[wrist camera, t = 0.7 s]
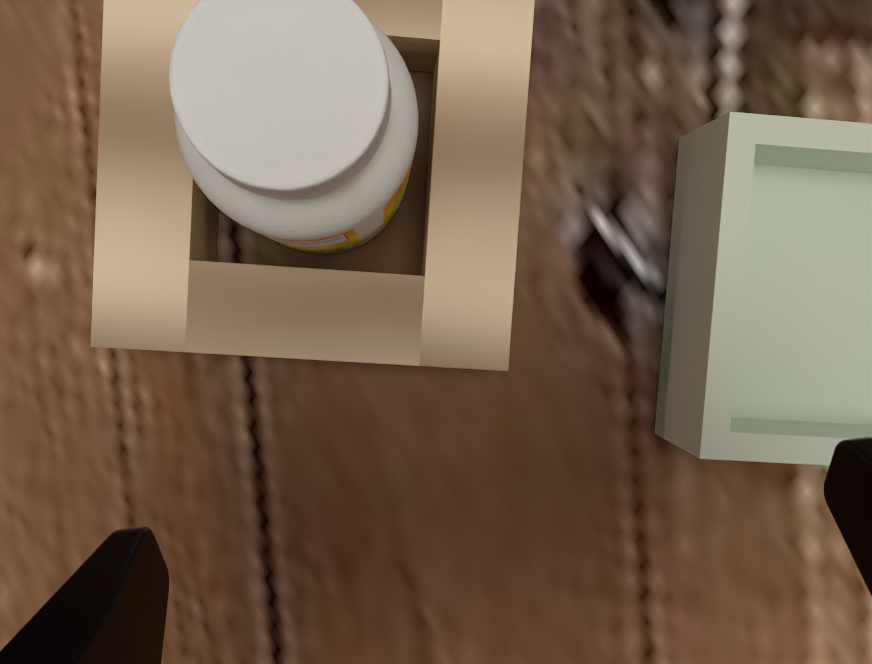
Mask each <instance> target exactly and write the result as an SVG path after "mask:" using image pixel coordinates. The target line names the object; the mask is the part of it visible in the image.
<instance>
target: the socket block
mask: <svg viewBox="0 0 872 664" xmlns="http://www.w3.org/2000/svg"><path fill="white" fill-rule="evenodd" d="M198 1H199V0H104V11H103V37H102V63H101V90H100V116H99V142H98V168H97V195H96V221H95V247H94V274H93V300H92V326H91V347H105V348H122V349H139V350H157V351H174V352H191V353H208V354H225V355H242V356H259V357H276V358H294V359H311V360H328V361H345V362H362V363H379V364H396V365H413V366H431V367H448V368H465V369H482V370H499V371H508V365H509V351H510V337H511V323H512V309H513V295H514V281H515V267H516V253H517V239H518V225H519V211H520V197H521V183H522V169H523V155H524V141H525V127H526V113H527V99H528V85H529V71H530V57H531V43H532V29H533V15H534V1H535V0H353V1H354V2H355V3H356V4H357V5H358V6H359V7H360V8H361V9H362V10H363V12H364V13H365V14H366V16H367V17H368V18H369V19H370V20H371V21H372V22H373V23H374V24H376V25H377V26H378V27H379V28H380V29H381V30H382V31H383V32H384V33H385V35H386V36H387V37H388V38H389V39H390V40H391V42H392V43H393V44H394V46H395V47H396V48H397V50H398V52H399V53H400V55H401V56H402V58H403V60H404V62H405V64H406V67H407V69H408V70H409V71H421V72H432V73H434V75H433V90H432V106H431V122H430V137H429V153H428V169H427V184H426V200H425V216H424V231H423V247H422V263H421V276H418V275H403V274H388V273H373V272H358V271H343V270H328V269H313V268H298V267H283V266H268V265H253V264H238V263H223V262H216V250H217V229H218V208H217V207H216V206H215V205H214V204H213V203H212V202H211V201H210V200H209V199H208V198H207V196H206V195H205V194H204V193H203V192H202V190H201V189H200V188H199V186H198V185H197V184H196V182H195V181H194V179H193V177H192V175H191V174H190V172H189V170H188V168H187V166H186V164H185V161H184V159H183V156H182V153H181V150H180V147H179V143H178V140H177V134H176V128H175V119H174V107H173V104H172V99H171V95H170V89H169V63H170V57H171V52H172V48H173V44H174V41H175V39H176V36H177V33H178V31H179V29H180V26H181V24H182V23H183V21H184V19H185V18H186V16H187V15H188V13H189V12H190V10H191V9H192V8H193V7H194V5H195V4H196V3H197V2H198Z"/></svg>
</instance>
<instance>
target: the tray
mask: <svg viewBox="0 0 872 664" xmlns="http://www.w3.org/2000/svg"><path fill="white" fill-rule="evenodd" d="M654 434H656V435H658V436H660V437H661V438H663V439H665V440H667V441H669V442H670V443H672V444H674V445H676V446H678V447H679V448H681V449H683V450H685V451H687V452H688V453H690V454H692V455H694V456H696V457H697V458H699V459H714V460H733V461H753V462H773V463H792V464H812V465H830V462H831V459H832V456H833V453H834V449H835V447H836V445H837V444H838V443H839V442H840V441H842V440H846V439H854V438H862V437H872V124H869V123H857V122H845V121H833V120H821V119H810V118H798V117H786V116H774V115H762V114H750V113H738V112H729V113H727V114H725V115H723V116H721V117H719V118H717V119H715V120H713V121H711V122H709V123H707V124H705V125H703V126H702V127H700V128H698V129H696V130H694V131H692V132H690V133H688V134H686V135H684V136H682V137H680V138H679V145H678V157H677V169H676V181H675V193H674V205H673V217H672V228H671V240H670V252H669V264H668V276H667V288H666V300H665V312H664V324H663V336H662V348H661V360H660V372H659V384H658V396H657V408H656V420H655V432H654Z"/></svg>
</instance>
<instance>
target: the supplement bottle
mask: <svg viewBox="0 0 872 664" xmlns="http://www.w3.org/2000/svg"><path fill="white" fill-rule="evenodd" d="M169 89H170V95H171V99H172V104H173V107H174V119H175V128H176V134H177V140H178V143H179V147H180V150H181V153H182V156H183V159H184V161H185V164H186V166H187V168H188V170H189V172H190V174H191V175H192V177H193V179H194V181H195V182H196V184H197V185H198V186H199V188H200V189H201V190H202V192H203V193H204V194H205V195H206V196H207V198H208V199H209V200H210V201H211V202H212V203H213V204H214V205H215V206H216V207H217V208H219V209H220V210H221V211H222V212H223V213H225V214H226V215H227V216H229V217H230V218H231V219H233V220H234V221H236V222H238V223H239V224H241V225H243V226H244V227H246V228H248V229H250V230H252V231H254V232H256V233H259V234H261V235H263V236H265V237H268V238H270V239H272V240H274V241H276V242H278V243H280V244H282V245H284V246H287V247H289V248H292V249H295V250H299V251H303V252H308V253H315V254H332V253H340V252H344V251H348V250H351V249H354V248H357V247H359V246H361V245H363V244H365V243H366V242H368V241H370V240H371V239H373V238H374V237H375V236H377V235H378V234H379V233H380V232H381V231H382V230H383V229H384V228H385V227H386V226H387V225H388V224H389V222H390V221H391V220H392V218H393V217H394V215H395V214H396V213H397V211H398V209H399V207H400V205H401V202H402V200H403V197H404V194H405V191H406V188H407V184H408V179H409V174H410V170H411V166H412V162H413V158H414V153H415V148H416V143H417V136H418V105H417V99H416V94H415V89H414V85H413V82H412V79H411V76H410V74H409V71H408V69H407V67H406V64H405V62H404V60H403V58H402V56H401V55H400V53H399V52H398V50H397V48H396V47H395V46H394V44H393V43H392V42H391V40H390V39H389V38H388V37H387V36H386V35H385V33H384V32H383V31H382V30H381V29H380V28H379V27H378V26H377V25H376V24H374V23H373V22H372V21H371V20H370V19H369V18H368V17H367V16H366V14H365V13H364V12H363V10H362V9H361V8H360V7H359V6H358V5H357V4H356V3H355V2H354V1H353V0H199V1H198V2H197V3H196V4H195V5H194V7H193V8H192V9H191V10H190V12H189V13H188V15H187V16H186V18H185V19H184V21H183V23H182V24H181V26H180V29H179V31H178V33H177V36H176V39H175V41H174V44H173V48H172V52H171V57H170V63H169Z"/></svg>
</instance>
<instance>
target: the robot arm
mask: <svg viewBox="0 0 872 664" xmlns="http://www.w3.org/2000/svg"><path fill="white" fill-rule="evenodd" d="M824 496H825V500H826V503H827V505H828V507H829V509H830V511H831V513H832V515H833V517H834V519H835V522H836V524H837V526H838V528H839V530H840V532H841V534H842V536H843V538H844V540H845V542H846V544H847V546H848V548H849V550H850V553H851V555H852V557H853V559H854V561H855V563H856V565H857V567H858V569H859V571H860V573H861V575H862V577H863V579H864V581H865V584H866V586H867V588H868V590H869V592H870V593H871V595H872V437H862V438H854V439H846V440H842V441H840V442H839V443H838V444H837V445H836V447H835V449H834V453H833V456H832V459H831V462H830V466H829V469H828V472H827V476H826V479H825V483H824ZM168 593H169V574H168V569H167V566H166V564H165V561H164V559H163V556H162V554H161V551H160V549H159V546H158V544H157V541H156V539H155V536H154V534H153V532H152V530H151V529H150V528H148V527H144V526H142V527H134V528H126V529H119V530H116V531H115V532H113V533H112V534H111V535H110V536H109V537H108V538H107V539H106V540H105V541H104V542H103V543H102V544H101V545H100V546H99V547H98V548H97V549H96V550H95V551H94V552H93V554H92V555H91V556H90V557H89V558H88V559H87V560H86V561H85V562H84V563H83V564H82V565H81V566H80V567H79V568H78V569H77V571H76V572H75V573H74V574H73V575H72V576H71V577H70V578H69V579H68V580H67V581H66V582H65V583H64V584H63V585H62V586H61V588H60V589H59V590H58V591H57V592H56V593H55V594H54V595H53V596H52V597H51V598H50V599H49V600H48V601H47V602H46V603H45V604H44V606H43V607H42V608H41V609H40V610H39V611H38V612H37V613H36V614H35V615H34V616H33V617H32V618H31V619H30V620H29V621H28V623H27V624H26V625H25V626H24V627H23V628H22V629H21V630H20V631H19V632H18V633H17V634H16V635H15V636H14V637H13V638H12V639H11V641H10V642H9V643H8V644H7V645H6V646H5V647H4V648H3V649H2V650H1V651H0V664H161V658H162V649H163V640H164V630H165V621H166V611H167V602H168Z"/></svg>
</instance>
